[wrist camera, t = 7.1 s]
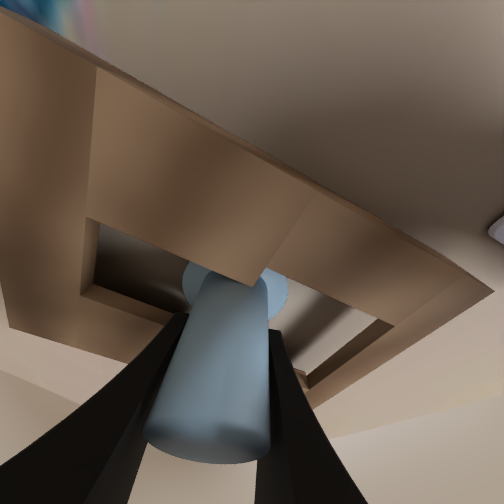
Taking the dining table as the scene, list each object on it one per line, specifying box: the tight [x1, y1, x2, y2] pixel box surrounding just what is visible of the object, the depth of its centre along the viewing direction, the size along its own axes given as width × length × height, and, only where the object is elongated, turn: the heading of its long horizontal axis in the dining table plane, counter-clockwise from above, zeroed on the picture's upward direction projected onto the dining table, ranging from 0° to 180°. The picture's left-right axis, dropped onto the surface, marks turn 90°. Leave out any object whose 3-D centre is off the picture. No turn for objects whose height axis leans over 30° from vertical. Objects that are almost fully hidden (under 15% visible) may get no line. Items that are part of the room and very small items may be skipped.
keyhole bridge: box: [0, 6, 495, 410], centre depth 13 cm, size 22×16×3 cm
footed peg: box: [143, 261, 288, 464], centre depth 10 cm, size 6×6×8 cm
